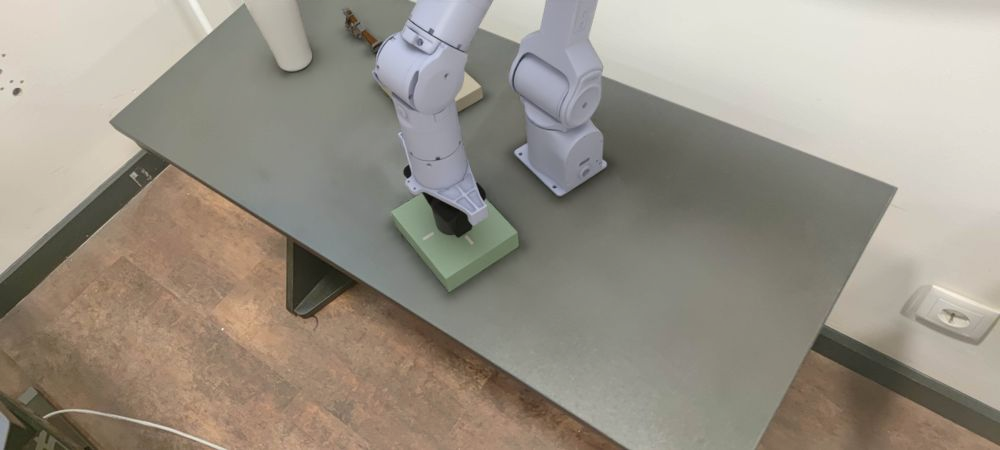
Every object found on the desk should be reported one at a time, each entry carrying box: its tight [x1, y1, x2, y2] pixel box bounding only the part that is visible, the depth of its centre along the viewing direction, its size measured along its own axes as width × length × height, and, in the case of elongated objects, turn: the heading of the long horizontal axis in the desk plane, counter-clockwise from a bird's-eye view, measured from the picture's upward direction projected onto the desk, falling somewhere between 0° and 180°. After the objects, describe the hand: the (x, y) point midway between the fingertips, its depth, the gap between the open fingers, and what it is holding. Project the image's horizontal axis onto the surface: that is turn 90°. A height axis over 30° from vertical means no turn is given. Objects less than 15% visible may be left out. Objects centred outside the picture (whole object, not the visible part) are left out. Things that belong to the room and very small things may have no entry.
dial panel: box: [390, 193, 520, 293], centre depth 83 cm, size 12×10×3 cm
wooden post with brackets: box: [341, 6, 384, 54], centre depth 106 cm, size 2×8×4 cm, turn 44°
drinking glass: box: [243, 0, 313, 72], centre depth 99 cm, size 7×7×15 cm
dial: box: [431, 197, 455, 235], centre depth 80 cm, size 4×4×4 cm
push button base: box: [378, 70, 484, 114], centre depth 97 cm, size 12×10×4 cm
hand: (452, 218), depth 81 cm, fingers closed on dial, 4 cm apart
